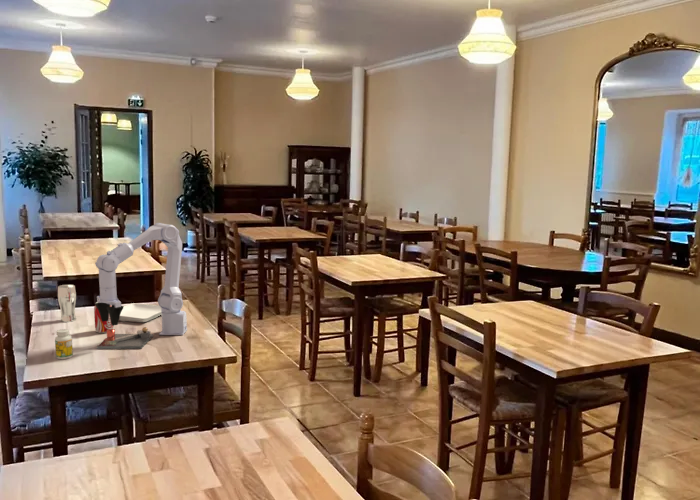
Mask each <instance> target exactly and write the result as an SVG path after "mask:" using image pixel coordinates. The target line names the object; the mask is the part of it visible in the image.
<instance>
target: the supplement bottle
mask: <svg viewBox="0 0 700 500" xmlns="http://www.w3.org/2000/svg"><path fill="white" fill-rule="evenodd" d="M54 345H55V346H54V347H55V358H56V359H58V360H68V359H70V358H73V355H74V351H73V338H72V335H70V329H67V328H64V329H63V328H62V329H59V330H56V337H55V338H54Z"/></svg>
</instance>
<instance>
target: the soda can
mask: <svg viewBox="0 0 700 500" xmlns="http://www.w3.org/2000/svg"><path fill="white" fill-rule="evenodd" d="M95 303H98V302H97V301H96V302H95ZM110 307H112V305H110ZM93 314H94V329H95V332H97V333H99V334H107V330H108V329H115V328H114V326H115V325H114V326H112V324H111V319H110V315H109V318H108V321H104V322H102V320H101V317H100V314H99V311H98V309H97V307H96V306H95V305H94V306H93Z"/></svg>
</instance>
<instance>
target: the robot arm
mask: <svg viewBox="0 0 700 500" xmlns="http://www.w3.org/2000/svg"><path fill="white" fill-rule="evenodd" d="M151 241H160V242H162V243H163V244H164V245H165V246H166V247H167V253H166V266H165V276H164V277H165V278H164V286H163V287H162V289H161V290H160V295H159V297H158V299H157V305H158V306H160V307H161V331H160V332H159V333H158V335H159V336H182V335H185V333H186V332H187V331H188V326H187V325H188V321H187V312H186V311H185V310H182V309H183V305H184V300H183V297H182V296H183V294H182V291H181V289H180V288H179V287H180V285H179V284H180V276H181V275H180V274H181V265H182V264H181V263H182V254H183V253H182V252H183V241H182V239H181V237H180V230H179V229H178V228H177V227H176V226H175V225H173V224H168V223H163V222H156V223H155V224H153V225H151V226H149V227H148V228H147V229H146V230H145V231H143V232H142V233H140V234H139V235H138V236H137V237H135V238H134V239H132V240H131V241H130V242H128V243H127V242H122V243H121V242H119V243H118V244H117V246H115V248H114V247H113V249H112V250H108V251H107V252H106V253H105V254H103V253H102V254H101V255H99V256H98V257H97V259H96V261H95V264H94V265H95V267H96V268H97V269H98V282H99V295H97V296H96V302H98V303H96V302H95V303H94V307H95V306H96V307H97V309H98V311H99V314H100V317H101V320H102V322H104V321H108V318H109V315H110V319H111V324H112V326H118V325H119V321H120V320H119V317H120V314H121V311H122V310H123V307H124V306H123V305H122V302H121V301H120V300H119V298H118V295H117V273H116V270H117V269H118V268H119V267H118V266H119V265H120V264H122V263H123V262H125V261H126V260H128V259H129V258H130V257H132V256H133V255H134V252H135V250H137V249H140V248H141V247H143V246H144V245H146V244H148V243H149V242H151ZM110 305H112V307H110Z"/></svg>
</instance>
